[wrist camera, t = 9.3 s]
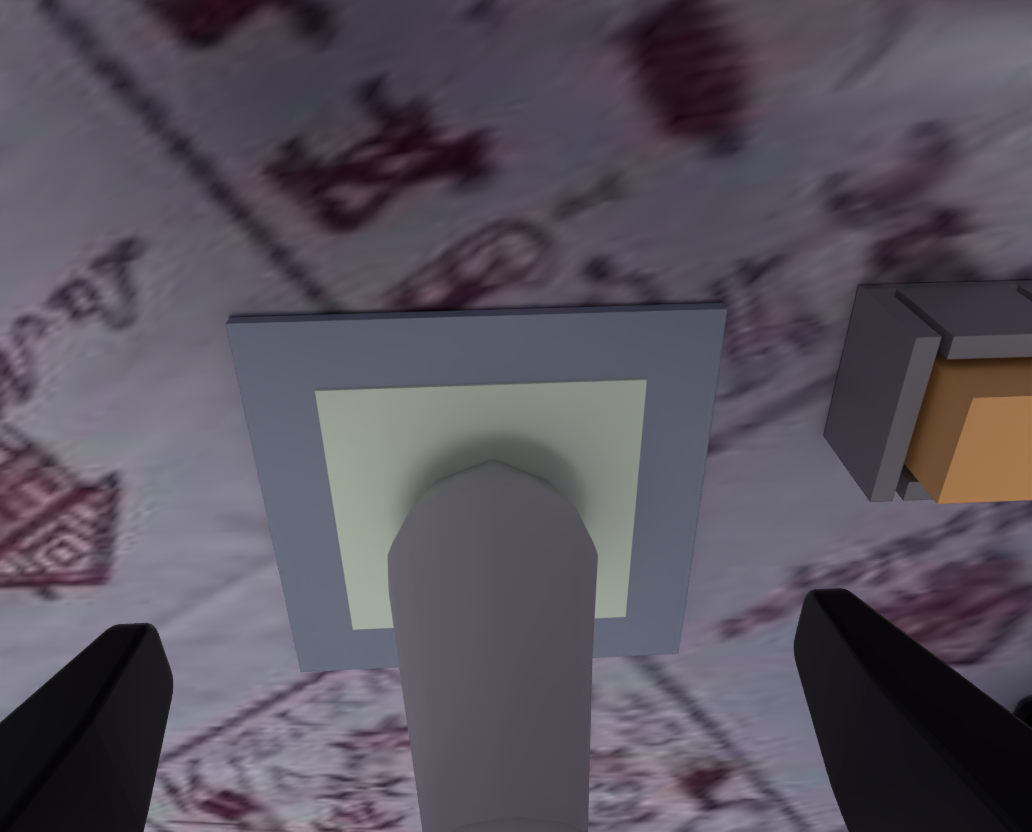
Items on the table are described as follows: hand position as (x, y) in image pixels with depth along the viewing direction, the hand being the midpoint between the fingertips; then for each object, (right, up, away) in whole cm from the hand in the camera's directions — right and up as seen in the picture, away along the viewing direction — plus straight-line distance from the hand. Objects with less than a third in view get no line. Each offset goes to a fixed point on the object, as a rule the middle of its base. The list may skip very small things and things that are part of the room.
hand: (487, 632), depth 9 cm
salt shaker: (0, -1, +15) cm, 15 cm away
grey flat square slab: (-1, 0, +16) cm, 16 cm away
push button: (+12, +3, +12) cm, 17 cm away
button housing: (+12, +4, +14) cm, 19 cm away
